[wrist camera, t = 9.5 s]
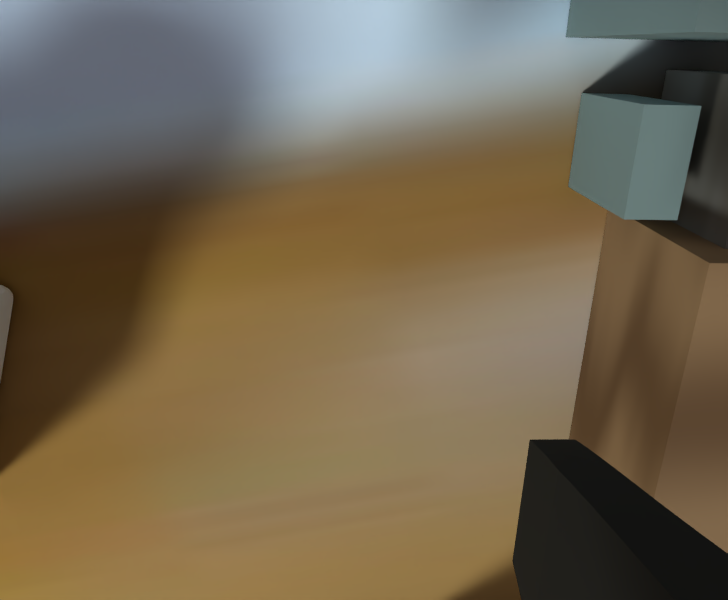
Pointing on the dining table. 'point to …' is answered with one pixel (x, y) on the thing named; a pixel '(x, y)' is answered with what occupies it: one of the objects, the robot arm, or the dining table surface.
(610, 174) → the grey boxy pieces
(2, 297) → the medicine bottle
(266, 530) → the dining table surface
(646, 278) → the rail
